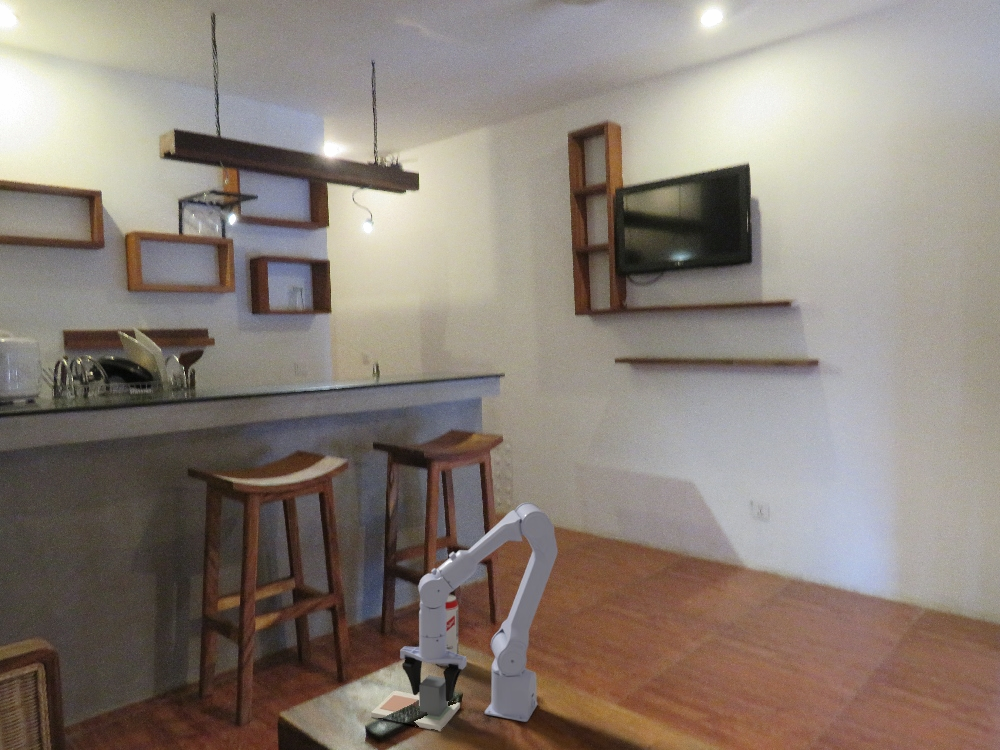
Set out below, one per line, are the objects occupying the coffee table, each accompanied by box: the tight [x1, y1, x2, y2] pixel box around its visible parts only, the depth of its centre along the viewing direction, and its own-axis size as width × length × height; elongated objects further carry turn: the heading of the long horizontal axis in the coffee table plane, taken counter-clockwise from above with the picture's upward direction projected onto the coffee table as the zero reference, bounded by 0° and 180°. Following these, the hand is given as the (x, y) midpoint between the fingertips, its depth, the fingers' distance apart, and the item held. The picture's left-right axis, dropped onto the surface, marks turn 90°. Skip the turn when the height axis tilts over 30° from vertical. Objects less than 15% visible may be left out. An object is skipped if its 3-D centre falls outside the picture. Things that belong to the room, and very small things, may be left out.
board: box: [370, 690, 461, 732], centre depth 147 cm, size 16×10×1 cm, turn 70°
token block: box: [418, 674, 448, 717], centre depth 146 cm, size 4×4×6 cm
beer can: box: [435, 594, 459, 667], centre depth 171 cm, size 6×6×16 cm
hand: (433, 696), depth 146 cm, fingers open, 7 cm apart
